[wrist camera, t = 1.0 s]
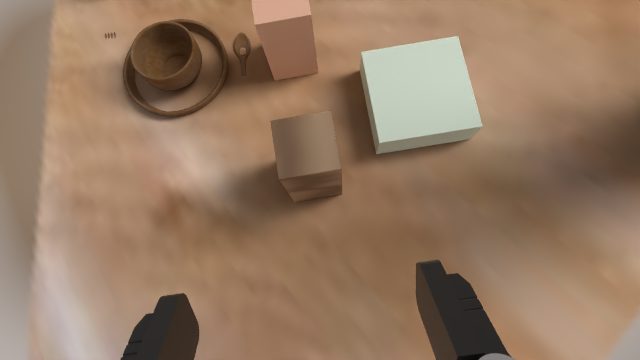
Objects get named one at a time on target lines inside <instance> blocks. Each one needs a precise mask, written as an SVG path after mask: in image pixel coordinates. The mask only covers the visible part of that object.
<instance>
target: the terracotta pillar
mask: <svg viewBox="0 0 640 360" xmlns="http://www.w3.org/2000/svg"><path fill="white" fill-rule="evenodd" d="M251 1H252V8H253V15H254V22H255V27H256V29H257V32H258V35H259V38H260V41H261V43H262V46H263V49H264V52H265V55H266V58H267V60H268V63H269V66H270V69H271V72H272V74H273V77H274V80H275V81H276V80H281V79H287V78H292V77H298V76H304V75H309V74H315V73H318V66H317V58H316V50H315V42H314V34H313V26H312V18H311V11H310V6H309V0H251Z"/></svg>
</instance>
